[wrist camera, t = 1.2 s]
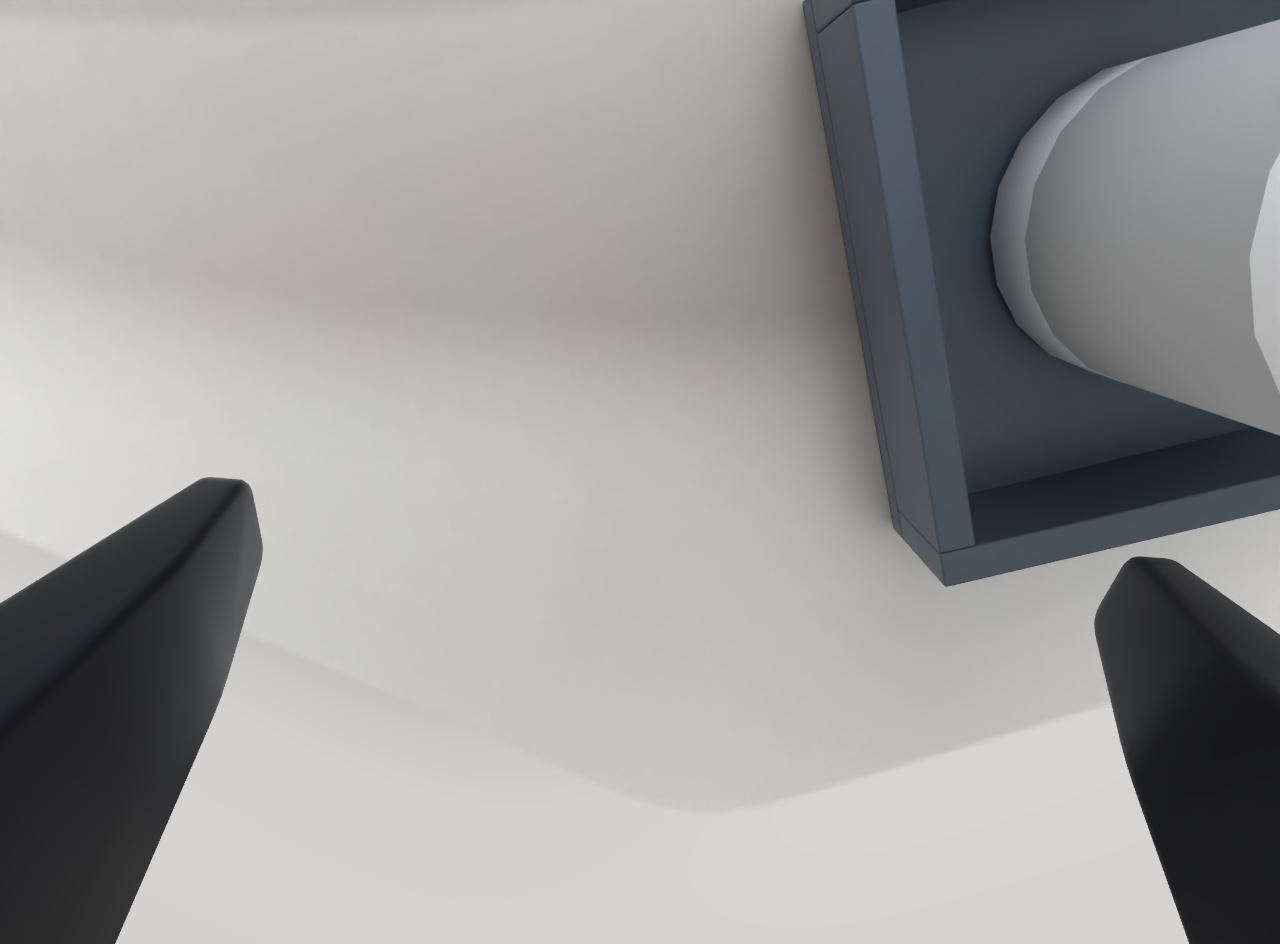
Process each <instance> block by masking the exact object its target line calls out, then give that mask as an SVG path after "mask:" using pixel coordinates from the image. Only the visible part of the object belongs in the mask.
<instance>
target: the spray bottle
mask: <svg viewBox="0 0 1280 944" xmlns="http://www.w3.org/2000/svg"><path fill="white" fill-rule="evenodd" d="M990 240H991V247H992V254H993V261H994V268H995V275H996V282H997V286H998V288H999V290H1000V292H1001V294H1002V296H1003V298H1004V300H1005V302H1006V304H1007V306H1008V308H1009V310H1010V312H1011V314H1012V315H1013V317H1014V319H1015V321H1016V323H1017V325H1018V326H1019V327H1020V328H1021V329H1022V330H1023V331H1024V332H1025V333H1026V334H1028V335H1029V336H1030V337H1031V338H1032V339H1033V340H1034V341H1035V342H1036V343H1037V344H1038V345H1039V346H1040V347H1042V348H1043V349H1044V350H1045V351H1046V352H1047V353H1048V354H1049V355H1051V356H1054V357H1056V358H1058V359H1061V360H1063V361H1066V362H1068V363H1070V364H1073V365H1075V366H1078V367H1080V368H1082V369H1085V370H1087V371H1090V372H1093V373H1096V374H1099V375H1101V376H1104V377H1107V378H1110V379H1113V380H1116V381H1119V382H1122V383H1125V384H1128V385H1131V386H1134V387H1137V388H1140V389H1143V390H1146V391H1149V392H1152V393H1155V394H1158V395H1161V396H1164V397H1167V398H1170V399H1173V400H1176V401H1179V402H1182V403H1185V404H1188V405H1190V406H1193V407H1196V408H1199V409H1202V410H1205V411H1208V412H1211V413H1214V414H1217V415H1220V416H1223V417H1226V418H1229V419H1232V420H1235V421H1238V422H1241V423H1244V424H1247V425H1250V426H1253V427H1256V428H1259V429H1262V430H1265V431H1268V432H1271V433H1274V434H1277V435H1280V20H1276V21H1273V22H1269V23H1266V24H1262V25H1259V26H1255V27H1252V28H1248V29H1245V30H1241V31H1237V32H1234V33H1230V34H1227V35H1223V36H1220V37H1216V38H1213V39H1209V40H1206V41H1202V42H1199V43H1195V44H1192V45H1188V46H1185V47H1181V48H1178V49H1174V50H1171V51H1167V52H1164V53H1160V54H1157V55H1153V56H1150V57H1146V58H1142V59H1139V60H1135V61H1132V62H1128V63H1125V64H1121V65H1118V66H1114V67H1111V68H1107V69H1104V70H1101V71H1100V72H1098V73H1097V74H1095V75H1094V76H1092V77H1090V78H1089V79H1087V80H1086V81H1084V82H1083V83H1081V84H1079V85H1078V86H1076V87H1075V88H1073V89H1071V90H1070V91H1068V92H1067V93H1065V94H1064V95H1062V96H1060V97H1059V98H1057V99H1056V100H1055V102H1054V103H1053V104H1052V105H1051V106H1050V107H1049V108H1048V110H1047V111H1046V112H1045V113H1044V114H1043V115H1042V116H1041V117H1040V119H1039V120H1038V121H1037V122H1036V123H1035V124H1034V125H1033V127H1032V128H1031V129H1030V130H1029V131H1028V132H1027V133H1026V134H1025V136H1024V137H1023V138H1022V139H1021V141H1020V143H1019V145H1018V147H1017V149H1016V151H1015V154H1014V156H1013V158H1012V160H1011V162H1010V164H1009V166H1008V168H1007V170H1006V172H1005V174H1004V177H1003V179H1002V181H1001V183H1000V185H999V187H998V193H997V199H996V205H995V211H994V217H993V223H992V229H991V235H990Z"/></svg>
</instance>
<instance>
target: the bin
mask: <svg viewBox="0 0 1280 944" xmlns="http://www.w3.org/2000/svg"><path fill="white" fill-rule="evenodd" d="M803 9H804V14H805V20H806V26H807V32H808V38H809V43H810V49H811V55H812V61H813V66H814V72H815V78H816V84H817V89H818V95H819V101H820V107H821V112H822V118H823V124H824V130H825V135H826V141H827V147H828V153H829V158H830V164H831V170H832V176H833V182H834V187H835V193H836V199H837V205H838V210H839V216H840V222H841V228H842V233H843V239H844V245H845V251H846V256H847V262H848V268H849V274H850V279H851V285H852V291H853V297H854V303H855V308H856V314H857V320H858V326H859V331H860V337H861V343H862V349H863V354H864V360H865V366H866V372H867V377H868V383H869V389H870V395H871V400H872V406H873V412H874V418H875V423H876V429H877V435H878V441H879V447H880V452H881V458H882V464H883V470H884V475H885V481H886V487H887V493H888V498H889V504H890V510H891V516H892V521H893V527H894V529H895V530H896V532H897V533H898V534H899V535H900V536H901V537H902V538H903V539H904V541H905V542H906V543H907V544H908V545H909V546H910V547H911V548H912V550H913V551H914V552H915V553H916V554H917V555H918V556H919V557H920V559H921V560H922V561H923V562H924V563H925V564H926V565H927V567H928V568H929V569H930V570H931V571H932V572H933V573H934V574H935V576H936V577H937V578H938V579H939V580H940V581H941V582H942V583H943V585H944V586H947V587H948V586H952V585H956V584H961V583H965V582H969V581H973V580H978V579H982V578H986V577H991V576H995V575H999V574H1003V573H1008V572H1012V571H1016V570H1021V569H1025V568H1029V567H1033V566H1038V565H1042V564H1046V563H1051V562H1055V561H1059V560H1063V559H1068V558H1072V557H1076V556H1081V555H1085V554H1089V553H1093V552H1098V551H1102V550H1106V549H1111V548H1115V547H1119V546H1124V545H1128V544H1132V543H1136V542H1141V541H1145V540H1149V539H1154V538H1158V537H1162V536H1166V535H1171V534H1175V533H1179V532H1184V531H1188V530H1192V529H1196V528H1201V527H1205V526H1209V525H1214V524H1218V523H1222V522H1226V521H1231V520H1235V519H1239V518H1244V517H1248V516H1252V515H1256V514H1261V513H1265V512H1269V511H1274V510H1278V509H1280V435H1277V434H1274V433H1271V432H1268V431H1265V430H1262V429H1259V428H1256V427H1253V426H1250V425H1247V424H1244V423H1241V422H1238V421H1235V420H1232V419H1229V418H1226V417H1223V416H1220V415H1217V414H1214V413H1211V412H1208V411H1205V410H1202V409H1199V408H1196V407H1193V406H1190V405H1188V404H1185V403H1182V402H1179V401H1176V400H1173V399H1170V398H1167V397H1164V396H1161V395H1158V394H1155V393H1152V392H1149V391H1146V390H1143V389H1140V388H1137V387H1134V386H1131V385H1128V384H1125V383H1122V382H1119V381H1116V380H1113V379H1110V378H1107V377H1104V376H1101V375H1099V374H1096V373H1093V372H1090V371H1087V370H1085V369H1082V368H1080V367H1078V366H1075V365H1073V364H1070V363H1068V362H1066V361H1063V360H1061V359H1058V358H1056V357H1054V356H1051V355H1049V354H1048V353H1047V352H1046V351H1045V350H1044V349H1043V348H1042V347H1040V346H1039V345H1038V344H1037V343H1036V342H1035V341H1034V340H1033V339H1032V338H1031V337H1030V336H1029V335H1028V334H1026V333H1025V332H1024V331H1023V330H1022V329H1021V328H1020V327H1019V326H1018V325H1017V323H1016V321H1015V319H1014V317H1013V315H1012V314H1011V312H1010V310H1009V308H1008V306H1007V304H1006V302H1005V300H1004V298H1003V296H1002V294H1001V292H1000V290H999V288H998V286H997V282H996V275H995V268H994V261H993V254H992V247H991V240H990V235H991V229H992V223H993V217H994V211H995V205H996V199H997V193H998V187H999V185H1000V183H1001V181H1002V179H1003V177H1004V174H1005V172H1006V170H1007V168H1008V166H1009V164H1010V162H1011V160H1012V158H1013V156H1014V154H1015V151H1016V149H1017V147H1018V145H1019V143H1020V141H1021V139H1022V138H1023V137H1024V136H1025V134H1026V133H1027V132H1028V131H1029V130H1030V129H1031V128H1032V127H1033V125H1034V124H1035V123H1036V122H1037V121H1038V120H1039V119H1040V117H1041V116H1042V115H1043V114H1044V113H1045V112H1046V111H1047V110H1048V108H1049V107H1050V106H1051V105H1052V104H1053V103H1054V102H1055V100H1056V99H1057V98H1059V97H1060V96H1062V95H1064V94H1065V93H1067V92H1068V91H1070V90H1071V89H1073V88H1075V87H1076V86H1078V85H1079V84H1081V83H1083V82H1084V81H1086V80H1087V79H1089V78H1090V77H1092V76H1094V75H1095V74H1097V73H1098V72H1100V71H1101V70H1104V69H1107V68H1111V67H1114V66H1118V65H1121V64H1125V63H1128V62H1132V61H1135V60H1139V59H1142V58H1146V57H1150V56H1153V55H1157V54H1160V53H1164V52H1167V51H1171V50H1174V49H1178V48H1181V47H1185V46H1188V45H1192V44H1195V43H1199V42H1202V41H1206V40H1209V39H1213V38H1216V37H1220V36H1223V35H1227V34H1230V33H1234V32H1237V31H1241V30H1245V29H1248V28H1252V27H1255V26H1259V25H1262V24H1266V23H1269V22H1273V21H1276V20H1280V0H805V1H804V2H803Z"/></svg>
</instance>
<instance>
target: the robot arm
mask: <svg viewBox="0 0 1280 944" xmlns="http://www.w3.org/2000/svg"><path fill="white" fill-rule="evenodd" d="M262 551H263V545H262V538H261V533H260V528H259V523H258V518H257V513H256V508H255V503H254V498H253V493H252V490H251V488H250V486H249V485H248V484H247V483H246V482H244V481H243V480H238V479H226V478H214V477H208V478H202V479H200V480H198V481H196V482H195V483H193V484H191V485H190V486H188V487H187V488H185V489H183V490H182V491H180V492H179V493H177V494H175V495H174V496H172V497H171V498H169V499H167V500H166V501H164V502H162V503H161V504H159V505H158V506H156V507H154V508H153V509H151V510H150V511H148V512H146V513H145V514H143V515H142V516H140V517H138V518H137V519H135V520H134V521H132V522H130V523H129V524H127V525H126V526H124V527H122V528H121V529H119V530H117V531H116V532H114V533H113V534H111V535H109V536H108V537H106V538H105V539H103V540H101V541H100V542H98V543H97V544H95V545H93V546H92V547H90V548H89V549H87V550H85V551H84V552H82V553H81V554H79V555H77V556H76V557H74V558H72V559H71V560H69V561H68V562H66V563H64V564H63V565H61V566H60V567H58V568H56V569H55V570H53V571H52V572H50V573H48V574H47V575H45V576H44V577H42V578H40V579H39V580H37V581H35V582H34V583H32V584H31V585H29V586H27V587H26V588H25V589H23V590H21V591H19V592H18V593H16V594H15V595H13V596H12V597H10V598H8V599H7V600H5V601H3V602H2V603H0V944H115V943H116V940H117V938H118V936H119V933H120V931H121V929H122V927H123V924H124V922H125V919H126V917H127V915H128V913H129V910H130V908H131V905H132V903H133V901H134V899H135V896H136V894H137V892H138V889H139V887H140V885H141V883H142V880H143V878H144V876H145V873H146V871H147V869H148V866H149V864H150V862H151V859H152V857H153V855H154V853H155V850H156V848H157V846H158V843H159V841H160V839H161V836H162V834H163V832H164V829H165V827H166V825H167V823H168V820H169V818H170V815H171V813H172V811H173V809H174V806H175V804H176V802H177V799H178V797H179V795H180V792H181V790H182V788H183V786H184V783H185V781H186V779H187V776H188V774H189V772H190V769H191V767H192V765H193V762H194V760H195V758H196V755H197V753H198V751H199V748H200V746H201V744H202V742H203V739H204V737H205V735H206V732H207V730H208V728H209V725H210V723H211V721H212V718H213V716H214V713H215V711H216V708H217V706H218V703H219V701H220V698H221V695H222V692H223V689H224V686H225V683H226V680H227V677H228V673H229V670H230V667H231V664H232V660H233V657H234V653H235V650H236V647H237V643H238V640H239V636H240V633H241V630H242V626H243V623H244V620H245V616H246V613H247V609H248V606H249V603H250V599H251V596H252V592H253V589H254V586H255V582H256V579H257V576H258V572H259V569H260V565H261V560H262ZM1094 625H1095V635H1096V640H1097V644H1098V648H1099V652H1100V657H1101V661H1102V665H1103V669H1104V674H1105V678H1106V682H1107V687H1108V691H1109V695H1110V699H1111V704H1112V708H1113V712H1114V716H1115V721H1116V724H1117V729H1118V733H1119V738H1120V742H1121V746H1122V749H1123V753H1124V757H1125V760H1126V764H1127V767H1128V770H1129V773H1130V776H1131V779H1132V782H1133V786H1134V788H1135V791H1136V794H1137V797H1138V800H1139V802H1140V805H1141V808H1142V811H1143V814H1144V817H1145V820H1146V822H1147V825H1148V828H1149V831H1150V834H1151V837H1152V839H1153V842H1154V845H1155V848H1156V851H1157V854H1158V856H1159V859H1160V862H1161V865H1162V867H1163V871H1164V873H1165V876H1166V879H1167V882H1168V885H1169V888H1170V890H1171V893H1172V896H1173V899H1174V902H1175V905H1176V907H1177V910H1178V913H1179V916H1180V919H1181V922H1182V924H1183V927H1184V930H1185V933H1186V936H1187V939H1188V941H1189V944H1280V634H1278V633H1277V632H1275V631H1274V630H1272V629H1271V628H1270V627H1268V626H1267V625H1265V624H1264V623H1263V622H1261V621H1260V620H1258V619H1257V618H1256V617H1254V616H1253V615H1251V614H1250V613H1248V612H1247V611H1246V610H1244V609H1243V608H1241V607H1240V606H1239V605H1237V604H1236V603H1234V602H1233V601H1232V600H1230V599H1229V598H1227V597H1226V596H1224V595H1223V594H1222V593H1220V592H1219V591H1217V590H1216V589H1215V588H1213V587H1212V586H1210V585H1209V584H1208V583H1206V582H1205V581H1203V580H1202V579H1200V578H1199V577H1198V576H1196V575H1195V574H1193V573H1192V572H1191V571H1189V570H1188V569H1186V568H1185V567H1184V566H1182V565H1181V564H1179V563H1178V562H1176V561H1173V560H1170V559H1164V558H1152V557H1141V556H1140V557H1134V558H1131V559H1130V560H1128V561H1127V562H1126V563H1125V564H1124V565H1123V567H1122V568H1121V570H1120V572H1119V573H1118V575H1117V577H1116V578H1115V580H1114V582H1113V583H1112V585H1111V587H1110V589H1109V590H1108V592H1107V594H1106V595H1105V597H1104V599H1103V600H1102V602H1101V604H1100V605H1099V607H1098V609H1097V612H1096V616H1095V623H1094Z"/></svg>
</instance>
